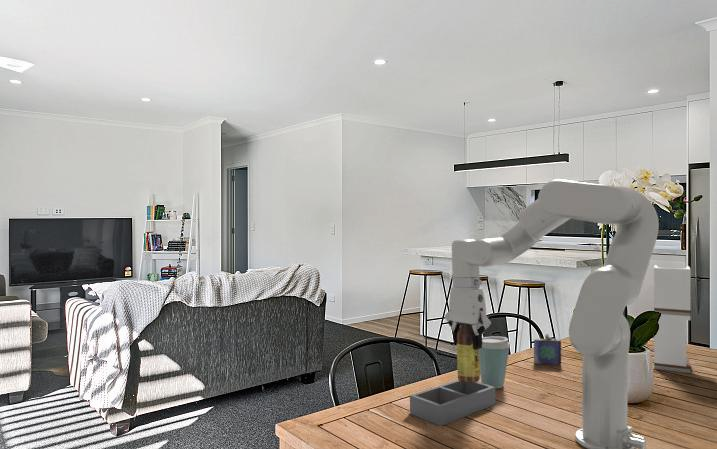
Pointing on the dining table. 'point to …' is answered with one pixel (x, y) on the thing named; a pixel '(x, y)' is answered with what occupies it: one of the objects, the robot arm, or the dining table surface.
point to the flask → (547, 351)
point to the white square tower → (672, 317)
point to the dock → (451, 401)
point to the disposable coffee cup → (493, 360)
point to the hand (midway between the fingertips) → (467, 346)
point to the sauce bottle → (467, 355)
